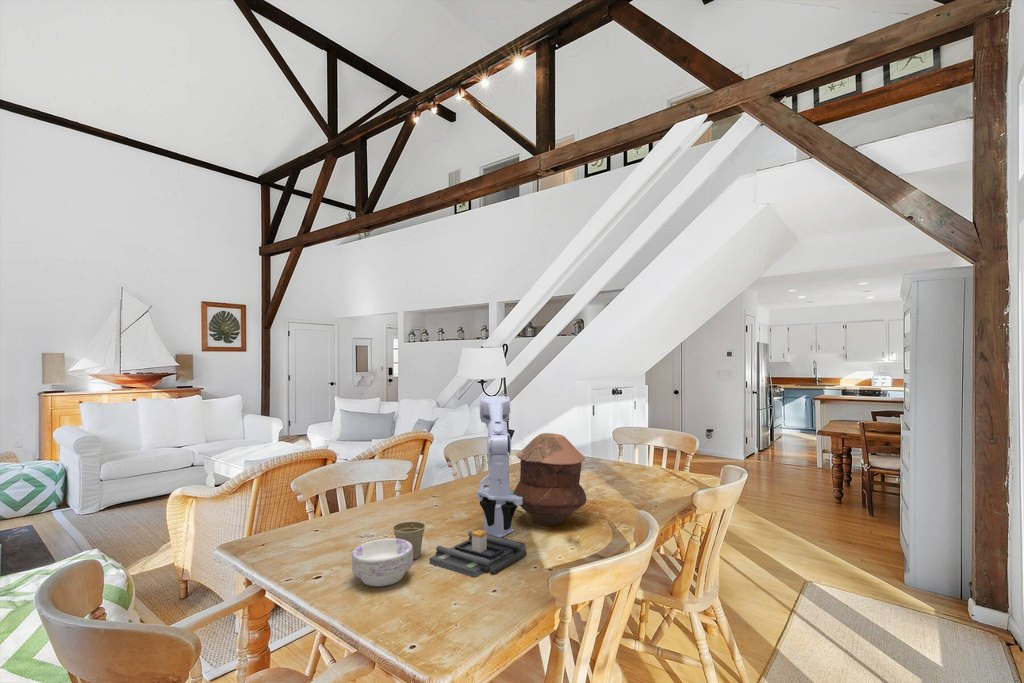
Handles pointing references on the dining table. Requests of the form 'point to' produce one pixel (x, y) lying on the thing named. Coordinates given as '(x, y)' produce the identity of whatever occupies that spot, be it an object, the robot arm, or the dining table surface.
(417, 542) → the flower pot
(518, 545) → the dark grey bar
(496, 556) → the breaker panel
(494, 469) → the robot arm
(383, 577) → the paper bowls
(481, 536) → the breaker lever
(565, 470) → the pottery vessel
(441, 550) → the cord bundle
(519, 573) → the dining table surface
